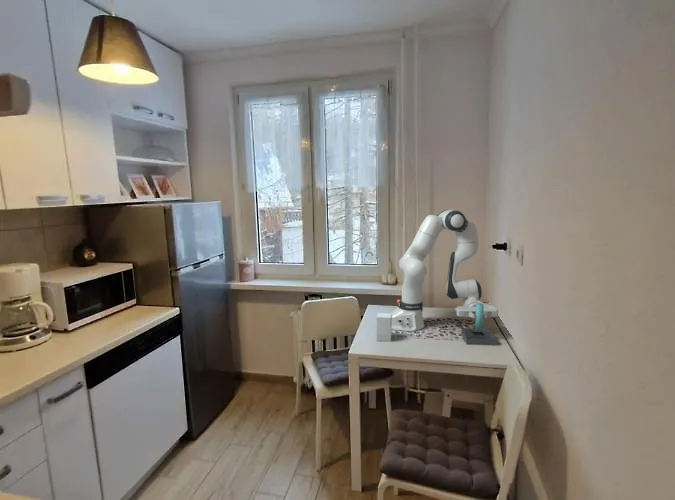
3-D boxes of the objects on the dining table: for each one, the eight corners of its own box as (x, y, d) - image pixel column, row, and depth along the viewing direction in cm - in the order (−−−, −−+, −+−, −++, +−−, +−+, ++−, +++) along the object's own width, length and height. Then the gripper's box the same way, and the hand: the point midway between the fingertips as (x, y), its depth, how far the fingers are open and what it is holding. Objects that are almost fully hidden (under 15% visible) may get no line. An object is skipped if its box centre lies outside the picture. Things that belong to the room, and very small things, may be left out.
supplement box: (391, 341, 189) (391, 317, 187) (376, 341, 191) (376, 317, 189) (391, 336, 196) (391, 313, 194) (377, 335, 198) (377, 312, 196)
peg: (476, 331, 188) (476, 305, 186) (474, 328, 192) (475, 303, 189) (483, 331, 188) (484, 305, 185) (481, 328, 191) (482, 303, 189)
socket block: (466, 344, 184) (466, 338, 184) (461, 333, 198) (461, 328, 198) (496, 345, 183) (496, 339, 182) (488, 334, 196) (489, 329, 196)
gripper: (453, 302, 202) (458, 310, 188) (493, 302, 199) (501, 311, 186) (453, 313, 203) (458, 322, 189) (493, 314, 200) (500, 323, 187)
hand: (479, 316), depth 188 cm, fingers closed on peg, 4 cm apart
